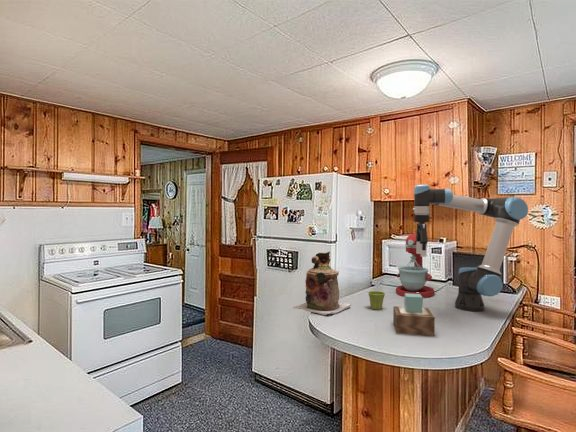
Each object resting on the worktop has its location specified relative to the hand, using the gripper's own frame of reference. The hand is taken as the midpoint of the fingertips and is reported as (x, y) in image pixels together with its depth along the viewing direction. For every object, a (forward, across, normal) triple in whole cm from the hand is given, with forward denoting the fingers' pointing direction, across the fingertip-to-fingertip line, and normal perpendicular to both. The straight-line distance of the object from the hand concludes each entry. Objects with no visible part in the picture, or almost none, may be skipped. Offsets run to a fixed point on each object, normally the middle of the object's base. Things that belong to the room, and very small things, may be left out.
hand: (421, 255), depth 194 cm
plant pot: (+32, -10, -22) cm, 40 cm away
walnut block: (+31, +25, -8) cm, 41 cm away
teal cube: (+23, +25, -7) cm, 34 cm away
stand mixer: (+32, -55, +5) cm, 64 cm away
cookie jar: (+32, -2, -52) cm, 61 cm away
